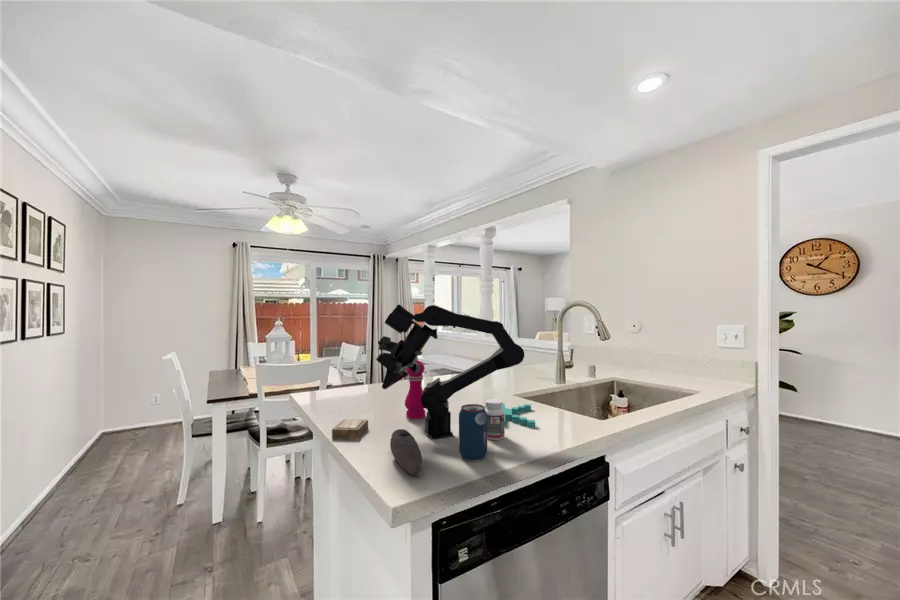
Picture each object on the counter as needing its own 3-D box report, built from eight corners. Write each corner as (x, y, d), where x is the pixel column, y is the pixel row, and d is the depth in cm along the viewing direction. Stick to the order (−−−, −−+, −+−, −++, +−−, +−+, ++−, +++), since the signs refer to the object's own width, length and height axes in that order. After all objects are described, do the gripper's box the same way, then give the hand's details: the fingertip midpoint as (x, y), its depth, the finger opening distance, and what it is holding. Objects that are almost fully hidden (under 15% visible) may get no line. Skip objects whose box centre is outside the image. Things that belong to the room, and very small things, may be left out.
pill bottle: (506, 440, 104) (506, 403, 104) (485, 441, 103) (485, 404, 103) (502, 433, 109) (501, 398, 109) (482, 433, 109) (482, 399, 109)
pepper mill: (404, 413, 129) (404, 354, 129) (426, 412, 130) (425, 354, 130) (404, 420, 122) (404, 357, 122) (427, 419, 123) (426, 357, 123)
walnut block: (368, 419, 114) (343, 418, 115) (358, 429, 105) (332, 428, 106) (368, 429, 114) (343, 429, 115) (358, 440, 105) (332, 440, 106)
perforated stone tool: (429, 479, 81) (429, 447, 81) (405, 484, 79) (405, 451, 79) (409, 454, 95) (409, 426, 95) (388, 457, 93) (388, 429, 93)
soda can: (491, 460, 91) (491, 409, 91) (464, 463, 89) (463, 412, 89) (481, 449, 97) (480, 402, 97) (455, 452, 95) (455, 404, 95)
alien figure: (530, 410, 133) (473, 408, 136) (530, 404, 133) (473, 402, 136) (535, 429, 114) (468, 427, 116) (535, 422, 114) (468, 419, 116)
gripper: (405, 331, 120) (378, 372, 120) (379, 323, 103) (346, 371, 103) (432, 351, 117) (404, 393, 116) (409, 346, 99) (376, 396, 99)
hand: (383, 388), depth 109 cm, fingers closed
